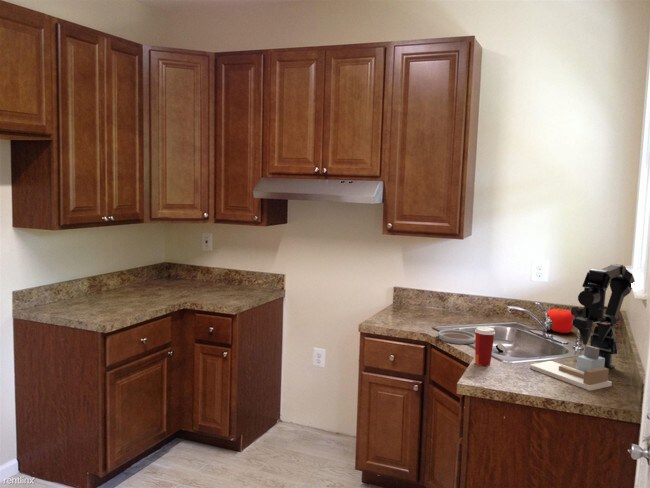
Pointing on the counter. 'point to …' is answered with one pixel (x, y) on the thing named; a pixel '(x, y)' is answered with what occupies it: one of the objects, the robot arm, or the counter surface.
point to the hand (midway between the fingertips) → (592, 343)
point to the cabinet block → (590, 359)
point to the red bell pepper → (561, 320)
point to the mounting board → (575, 375)
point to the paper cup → (483, 345)
